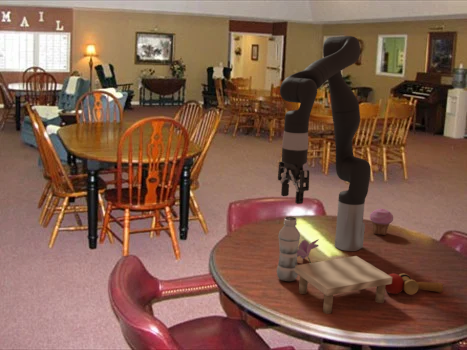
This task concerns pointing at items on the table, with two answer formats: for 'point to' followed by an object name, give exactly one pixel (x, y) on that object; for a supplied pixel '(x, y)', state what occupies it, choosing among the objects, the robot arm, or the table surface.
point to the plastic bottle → (288, 250)
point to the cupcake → (381, 220)
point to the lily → (306, 248)
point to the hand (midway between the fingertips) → (291, 199)
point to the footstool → (342, 278)
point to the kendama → (410, 285)
